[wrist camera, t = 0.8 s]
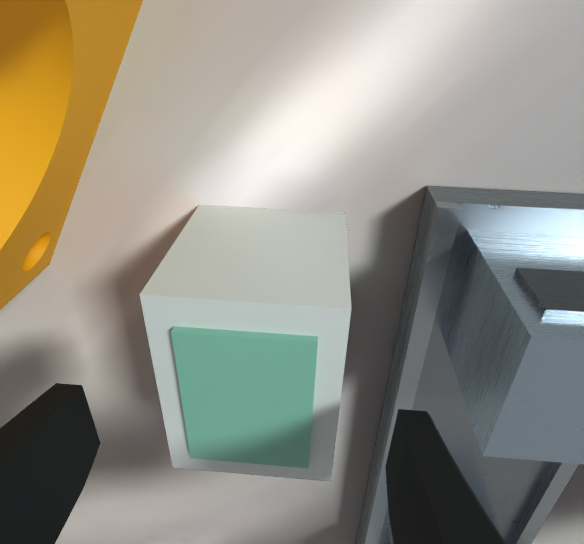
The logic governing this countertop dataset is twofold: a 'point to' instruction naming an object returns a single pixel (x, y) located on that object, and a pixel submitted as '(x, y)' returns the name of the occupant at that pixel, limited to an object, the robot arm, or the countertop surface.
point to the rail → (492, 351)
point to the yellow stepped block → (50, 117)
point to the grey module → (252, 340)
